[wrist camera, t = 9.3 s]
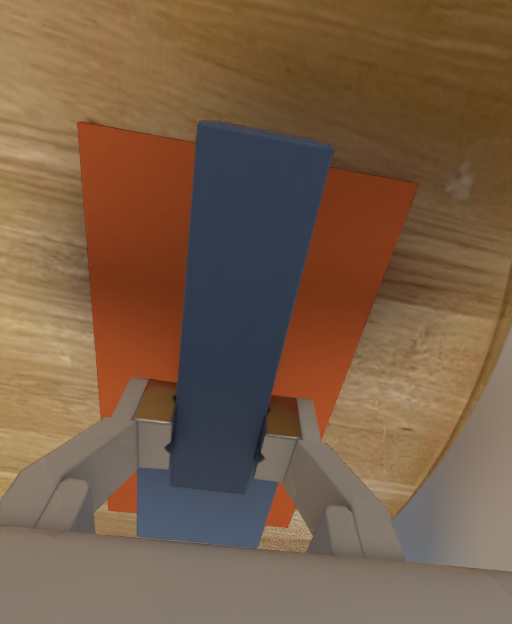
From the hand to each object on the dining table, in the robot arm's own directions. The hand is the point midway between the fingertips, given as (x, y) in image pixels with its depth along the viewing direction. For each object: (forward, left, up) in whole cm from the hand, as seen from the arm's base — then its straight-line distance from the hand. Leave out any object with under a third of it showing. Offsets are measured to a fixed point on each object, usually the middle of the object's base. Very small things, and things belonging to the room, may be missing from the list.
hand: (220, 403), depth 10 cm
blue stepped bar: (+1, +1, -2) cm, 2 cm away
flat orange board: (+7, +6, -10) cm, 13 cm away
